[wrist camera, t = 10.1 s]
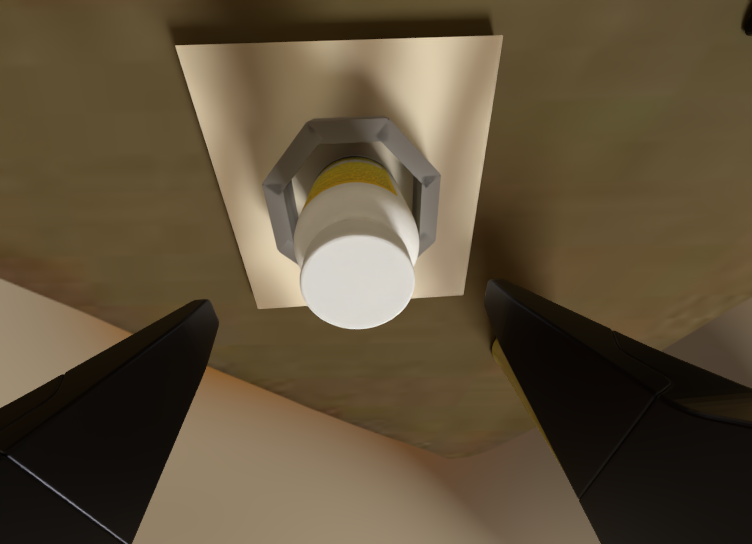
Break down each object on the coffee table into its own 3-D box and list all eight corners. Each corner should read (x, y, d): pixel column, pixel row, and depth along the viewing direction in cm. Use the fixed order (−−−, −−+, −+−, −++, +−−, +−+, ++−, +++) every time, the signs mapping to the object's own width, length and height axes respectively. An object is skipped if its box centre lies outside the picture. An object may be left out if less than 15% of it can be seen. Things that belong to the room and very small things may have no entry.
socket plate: (494, 38, 15) (529, 24, 12) (459, 287, 24) (474, 315, 21) (185, 48, 14) (142, 35, 12) (261, 301, 23) (248, 331, 20)
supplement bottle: (293, 192, 18) (240, 276, 9) (362, 133, 16) (373, 168, 8) (350, 253, 20) (348, 363, 12) (414, 206, 19) (465, 293, 10)
